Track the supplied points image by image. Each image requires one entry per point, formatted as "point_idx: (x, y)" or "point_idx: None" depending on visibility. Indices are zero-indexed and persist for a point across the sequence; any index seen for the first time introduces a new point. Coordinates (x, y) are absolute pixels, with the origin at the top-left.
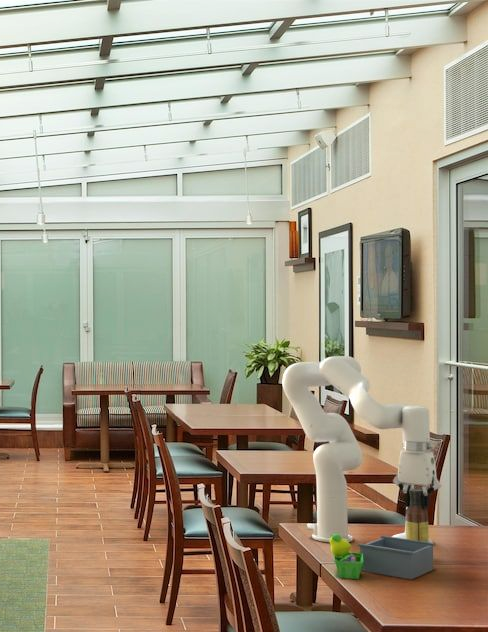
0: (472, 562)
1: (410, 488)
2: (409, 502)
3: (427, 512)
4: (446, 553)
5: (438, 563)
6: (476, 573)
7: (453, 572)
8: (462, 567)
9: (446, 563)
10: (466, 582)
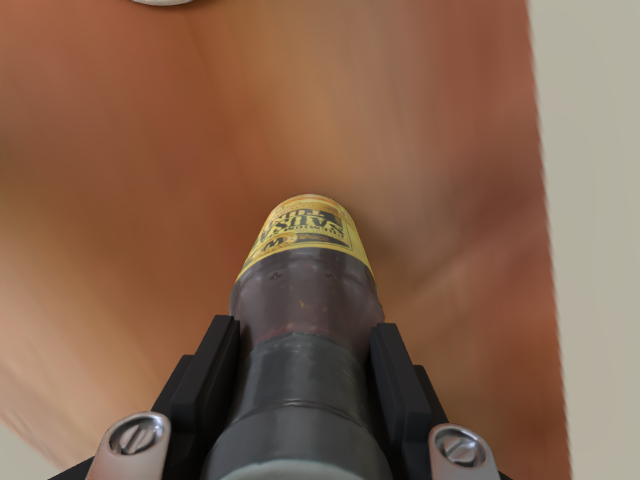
0: (516, 173)
1: (163, 476)
2: (232, 398)
3: (384, 319)
4: (385, 58)
5: (405, 280)
6: (550, 341)
7: (480, 375)
8: (494, 286)
9: (431, 260)
10: (534, 463)
